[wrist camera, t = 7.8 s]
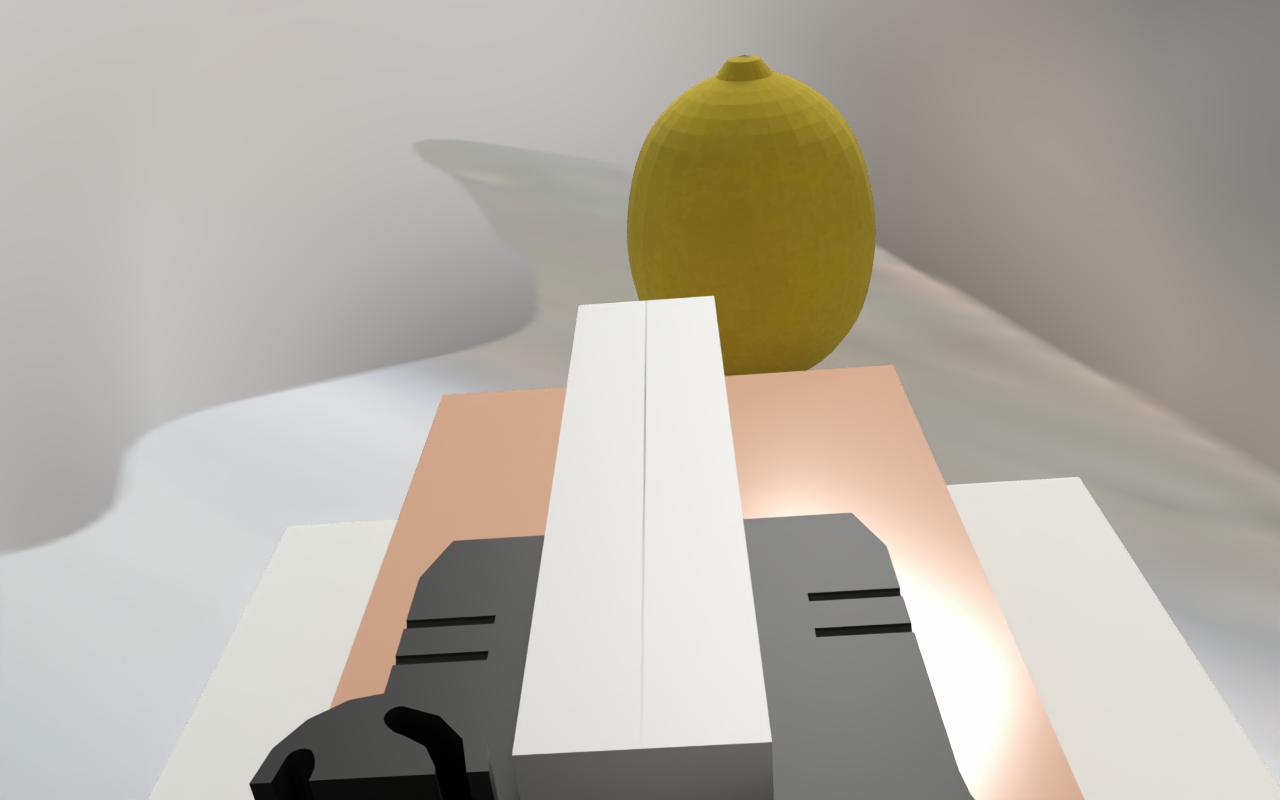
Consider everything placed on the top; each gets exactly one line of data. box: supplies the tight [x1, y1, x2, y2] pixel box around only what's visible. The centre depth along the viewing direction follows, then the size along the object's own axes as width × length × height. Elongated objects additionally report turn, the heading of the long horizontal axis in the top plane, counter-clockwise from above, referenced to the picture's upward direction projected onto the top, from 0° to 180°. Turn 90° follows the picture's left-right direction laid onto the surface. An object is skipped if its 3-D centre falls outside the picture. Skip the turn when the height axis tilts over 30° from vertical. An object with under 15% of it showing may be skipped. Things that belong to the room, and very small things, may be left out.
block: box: [330, 365, 1084, 800], centre depth 15 cm, size 8×3×12 cm
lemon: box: [627, 55, 876, 376], centre depth 25 cm, size 6×6×8 cm
